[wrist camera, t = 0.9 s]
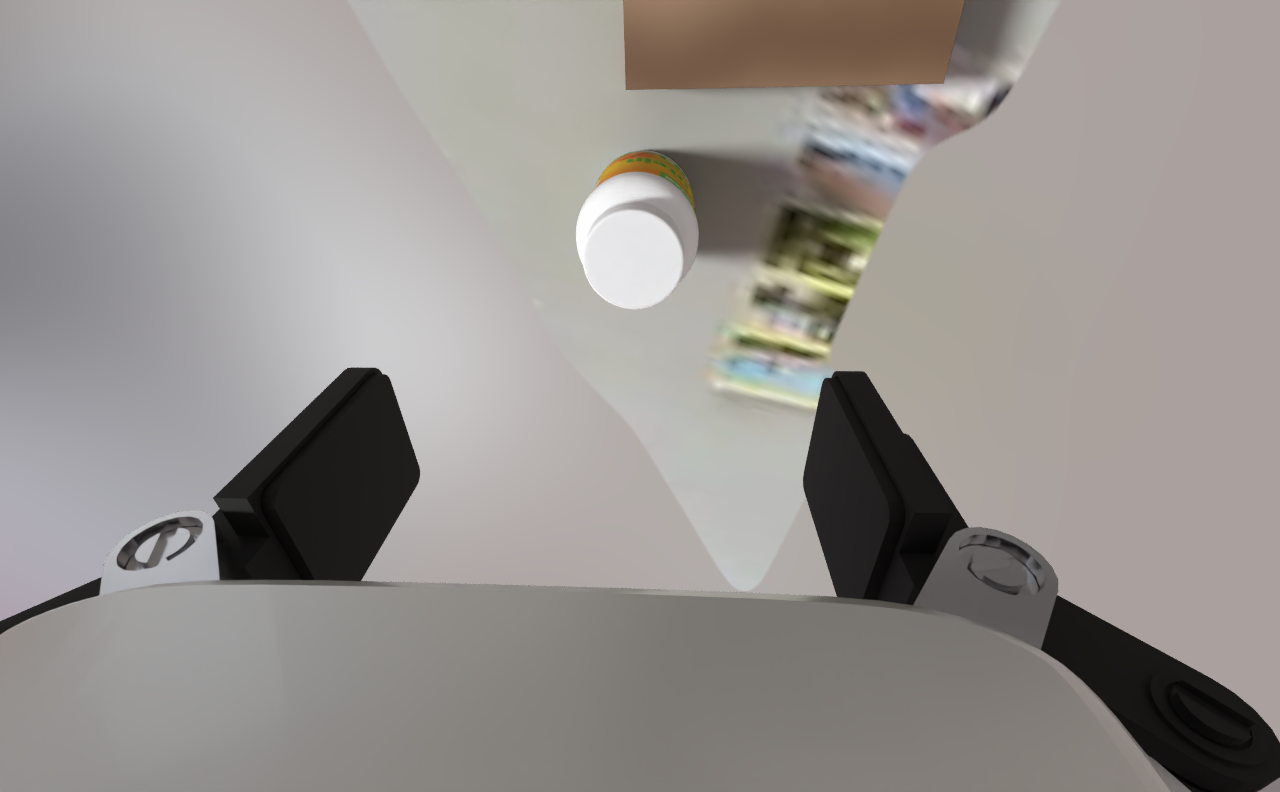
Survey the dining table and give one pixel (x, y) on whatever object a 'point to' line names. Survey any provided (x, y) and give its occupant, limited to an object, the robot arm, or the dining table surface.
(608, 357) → the dining table surface
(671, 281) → the supplement bottle
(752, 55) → the socket block
